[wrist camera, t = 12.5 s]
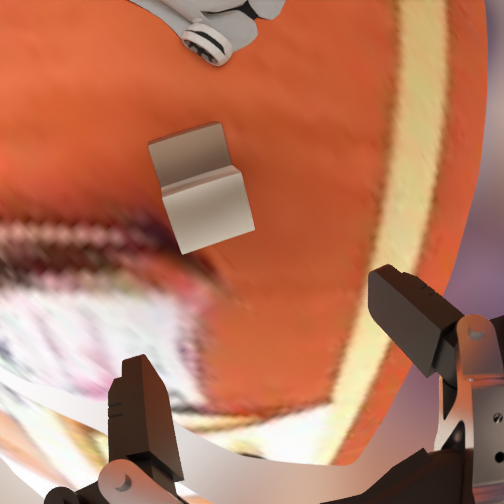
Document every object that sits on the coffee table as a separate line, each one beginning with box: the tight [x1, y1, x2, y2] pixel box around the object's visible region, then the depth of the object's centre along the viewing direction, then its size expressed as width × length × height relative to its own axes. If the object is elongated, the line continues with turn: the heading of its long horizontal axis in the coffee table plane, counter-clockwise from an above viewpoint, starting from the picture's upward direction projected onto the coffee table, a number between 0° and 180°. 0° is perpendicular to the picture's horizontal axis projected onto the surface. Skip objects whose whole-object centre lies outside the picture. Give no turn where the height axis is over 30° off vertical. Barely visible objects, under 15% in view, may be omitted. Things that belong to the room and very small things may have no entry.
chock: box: [148, 122, 255, 255], centre depth 21 cm, size 7×5×5 cm
